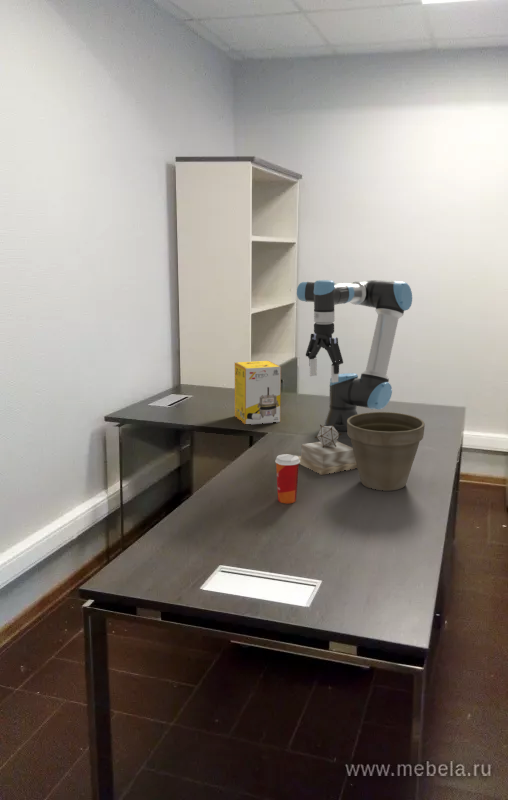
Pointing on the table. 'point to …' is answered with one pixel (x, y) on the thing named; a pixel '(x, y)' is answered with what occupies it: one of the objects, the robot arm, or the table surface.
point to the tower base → (327, 457)
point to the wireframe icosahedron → (328, 435)
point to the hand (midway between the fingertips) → (323, 378)
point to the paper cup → (287, 477)
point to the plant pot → (384, 447)
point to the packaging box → (257, 392)
